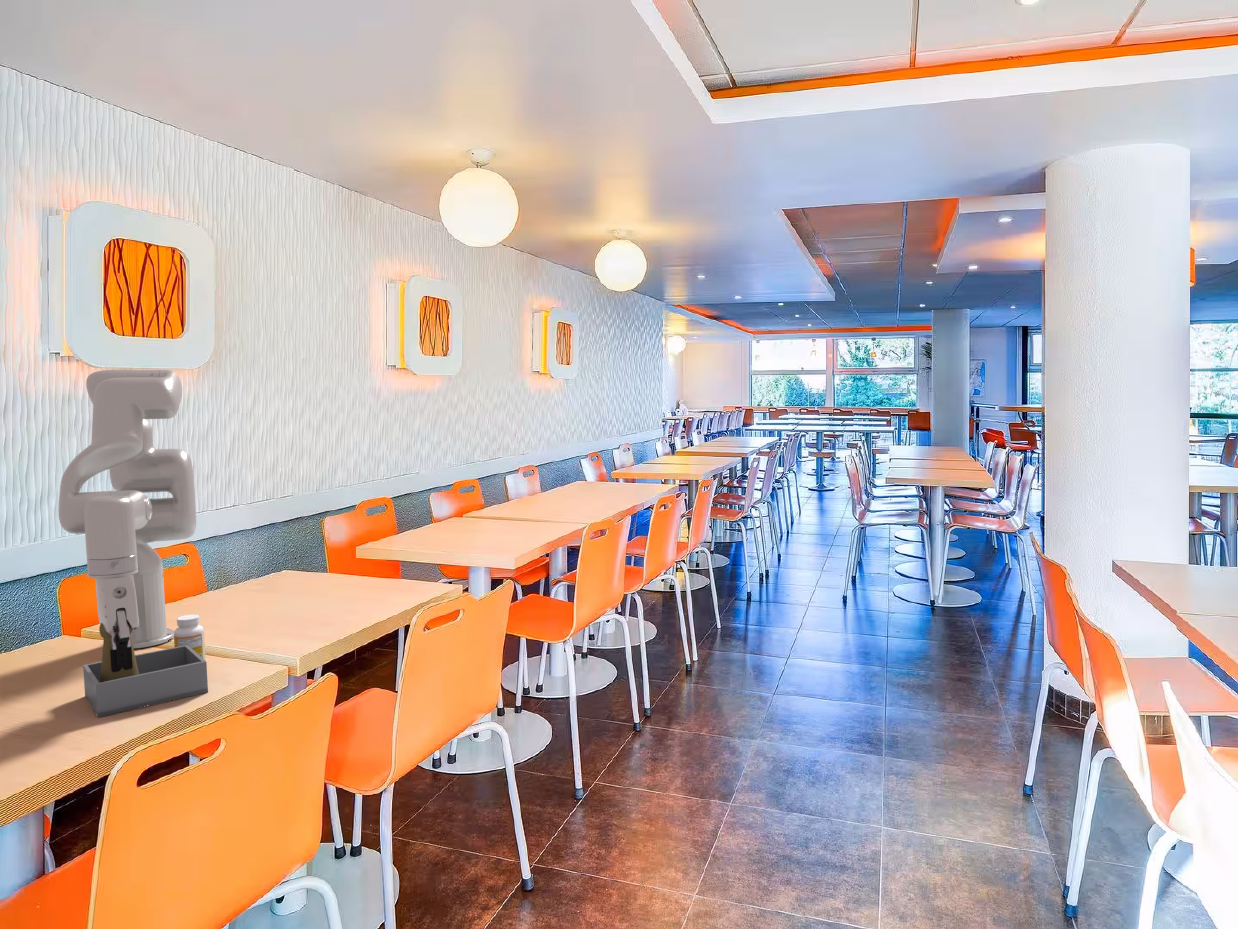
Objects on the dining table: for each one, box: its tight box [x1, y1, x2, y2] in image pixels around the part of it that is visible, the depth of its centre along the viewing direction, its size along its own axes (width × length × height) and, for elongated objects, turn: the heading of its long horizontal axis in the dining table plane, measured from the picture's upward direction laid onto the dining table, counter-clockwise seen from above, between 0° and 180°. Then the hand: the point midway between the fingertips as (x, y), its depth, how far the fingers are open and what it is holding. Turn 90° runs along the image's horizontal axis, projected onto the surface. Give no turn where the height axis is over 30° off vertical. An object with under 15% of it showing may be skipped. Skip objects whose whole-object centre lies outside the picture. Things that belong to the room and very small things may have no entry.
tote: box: [82, 645, 209, 719], centre depth 147 cm, size 13×17×6 cm
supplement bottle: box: [173, 614, 206, 661], centre depth 164 cm, size 5×5×10 cm
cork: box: [98, 621, 139, 683], centre depth 144 cm, size 6×6×11 cm
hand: (119, 665), depth 144 cm, fingers closed on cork, 4 cm apart
